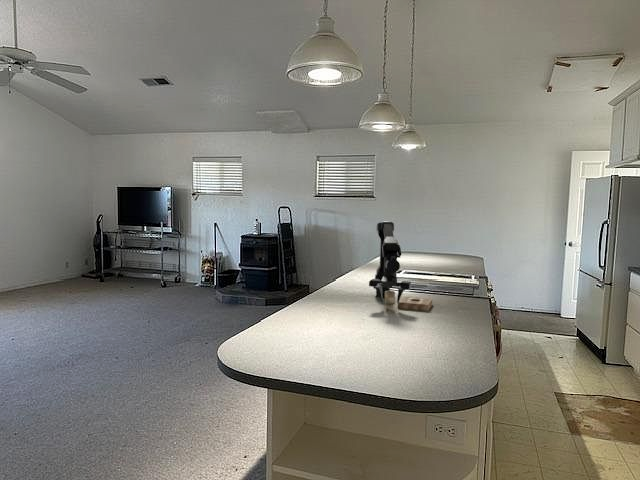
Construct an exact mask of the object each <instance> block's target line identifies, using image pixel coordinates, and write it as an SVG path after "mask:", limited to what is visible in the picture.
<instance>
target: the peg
mask: <svg viewBox="0 0 640 480" xmlns="http://www.w3.org/2000/svg"><path fill="white" fill-rule="evenodd" d="M384 304H385V310H386V311H388V312H389V311H394V305H395V304H396V291H394V290H390V291H385V298H384Z"/></svg>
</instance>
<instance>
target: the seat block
mask: <svg viewBox="0 0 640 480" xmlns="http://www.w3.org/2000/svg"><path fill="white" fill-rule="evenodd" d="M432 305H433V298H429V297H417V296H415V297H414V296H405V295H404V296H401V298H400V300H399V303H397V309H399V310H400V309H402V310H410V311H422V312H429V310H430V309H431V307H432Z"/></svg>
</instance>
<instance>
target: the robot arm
mask: <svg viewBox="0 0 640 480" xmlns="http://www.w3.org/2000/svg"><path fill="white" fill-rule="evenodd" d="M394 231H395V223H394V222H393V221H392V220H384V221H381V222H378V223H377V224H376V232H377V235H378V237H379V239H380V244H379V245H380V246H379V247H380V248H379V266H378V267H377V269H376V273H375V275H374V278H372V279H370V280H369V282H368V283H369V284H368V286H369V287H370V288H371V287H373V289H374V290H375V298H379V299H380V302H381V303H382V302H383V298H384V299H385V291H391V288H393V287H398V288H397V298H396V303H397V304H398V303H399V300H400V299H401V298H402V295H403V293H404V292H405V291H406V290H410V289H412V282H411V281H409V280H408V281H407V280H402V281H401V282H398V277H397V272H398V271H399V270H400V268H401V263H400V262H399V261H398V258H400V259H401V256H402V249H401V246H400V244H399V242H398V239H396V238H395V236H394Z"/></svg>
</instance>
